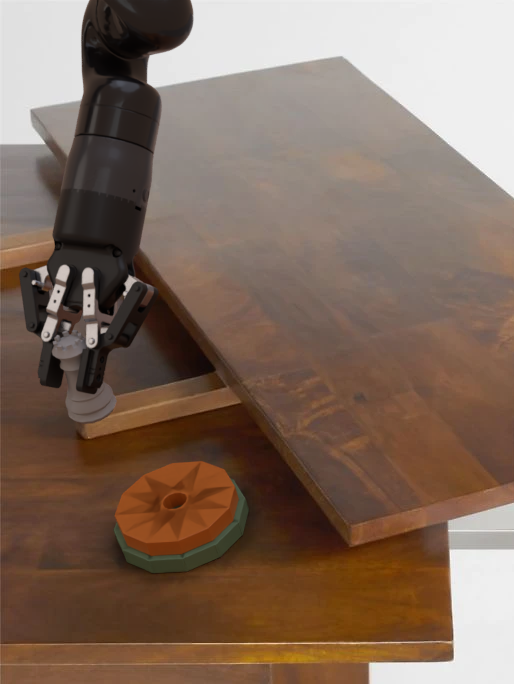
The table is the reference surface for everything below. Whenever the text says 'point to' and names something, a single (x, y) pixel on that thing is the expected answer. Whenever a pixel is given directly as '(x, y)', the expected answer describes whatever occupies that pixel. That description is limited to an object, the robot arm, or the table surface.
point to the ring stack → (180, 517)
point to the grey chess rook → (77, 403)
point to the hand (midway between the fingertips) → (68, 388)
